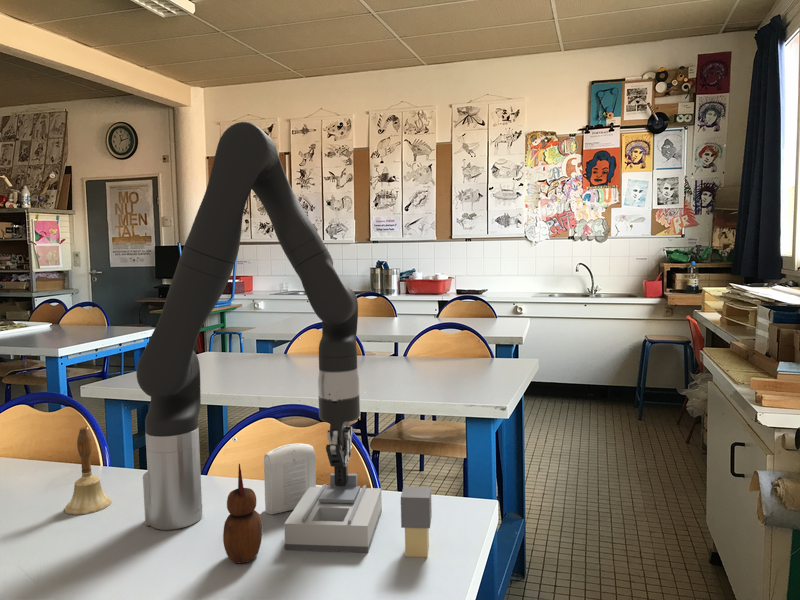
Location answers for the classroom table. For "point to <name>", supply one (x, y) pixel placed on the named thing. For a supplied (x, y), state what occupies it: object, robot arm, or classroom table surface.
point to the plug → (416, 519)
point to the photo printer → (288, 476)
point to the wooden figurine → (242, 525)
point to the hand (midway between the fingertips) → (341, 484)
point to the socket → (333, 522)
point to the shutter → (341, 491)
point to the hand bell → (86, 482)
